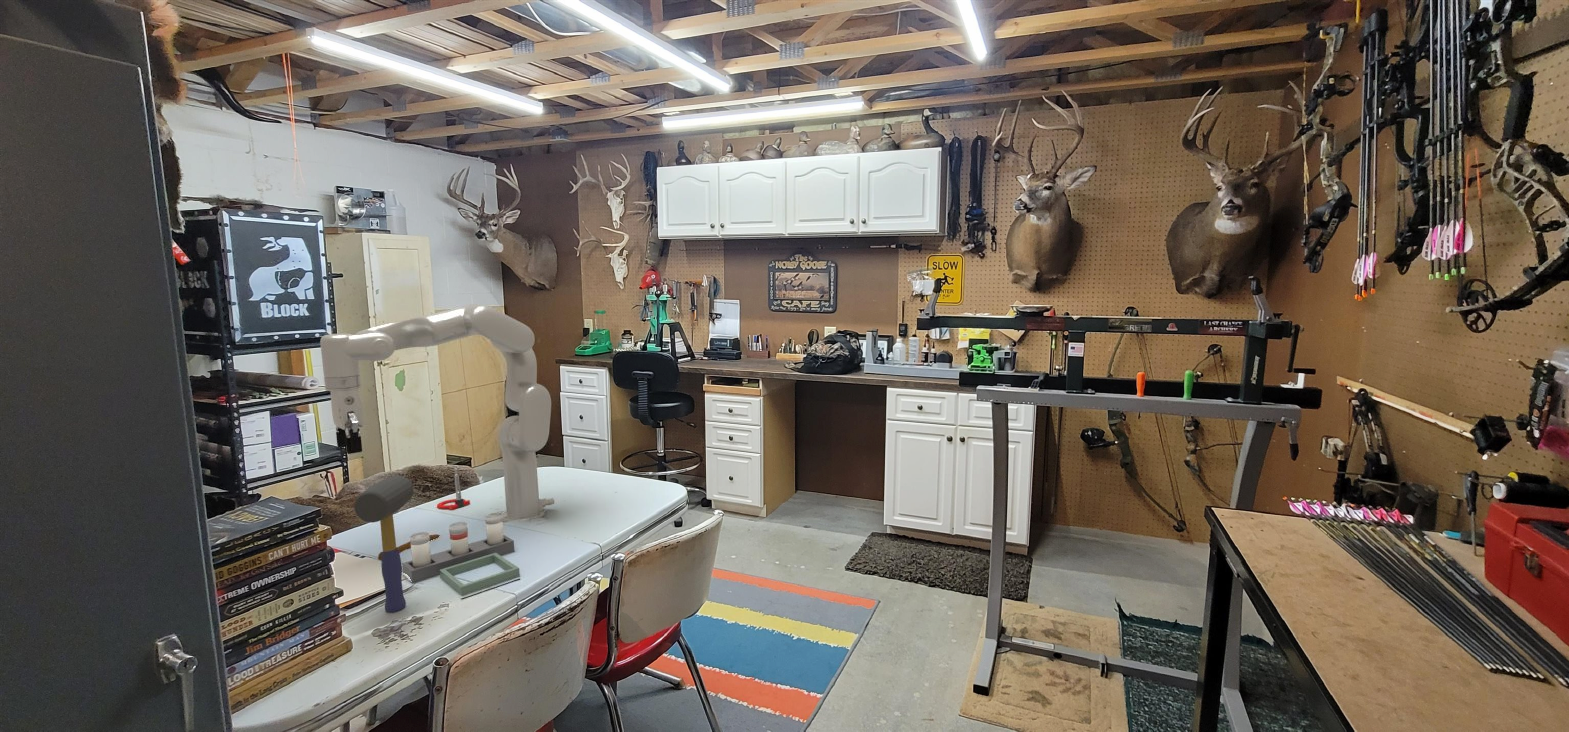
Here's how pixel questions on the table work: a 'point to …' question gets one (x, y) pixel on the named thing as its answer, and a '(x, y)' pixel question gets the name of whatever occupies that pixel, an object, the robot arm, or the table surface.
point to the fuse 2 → (494, 528)
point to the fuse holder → (456, 558)
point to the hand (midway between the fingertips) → (349, 449)
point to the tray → (485, 582)
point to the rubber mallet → (387, 530)
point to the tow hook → (458, 500)
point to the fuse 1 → (420, 549)
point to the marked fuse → (459, 538)
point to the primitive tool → (408, 545)
